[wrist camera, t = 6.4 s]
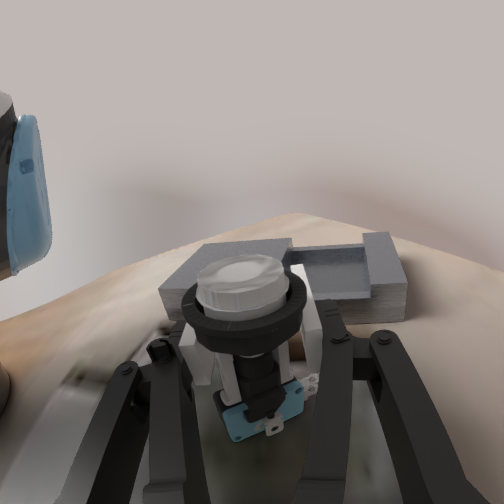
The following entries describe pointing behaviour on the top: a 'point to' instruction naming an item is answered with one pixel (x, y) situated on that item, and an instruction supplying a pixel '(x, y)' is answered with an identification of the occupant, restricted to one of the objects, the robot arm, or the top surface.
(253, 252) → the grey recessed block
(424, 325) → the top surface
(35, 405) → the top surface
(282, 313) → the push button
